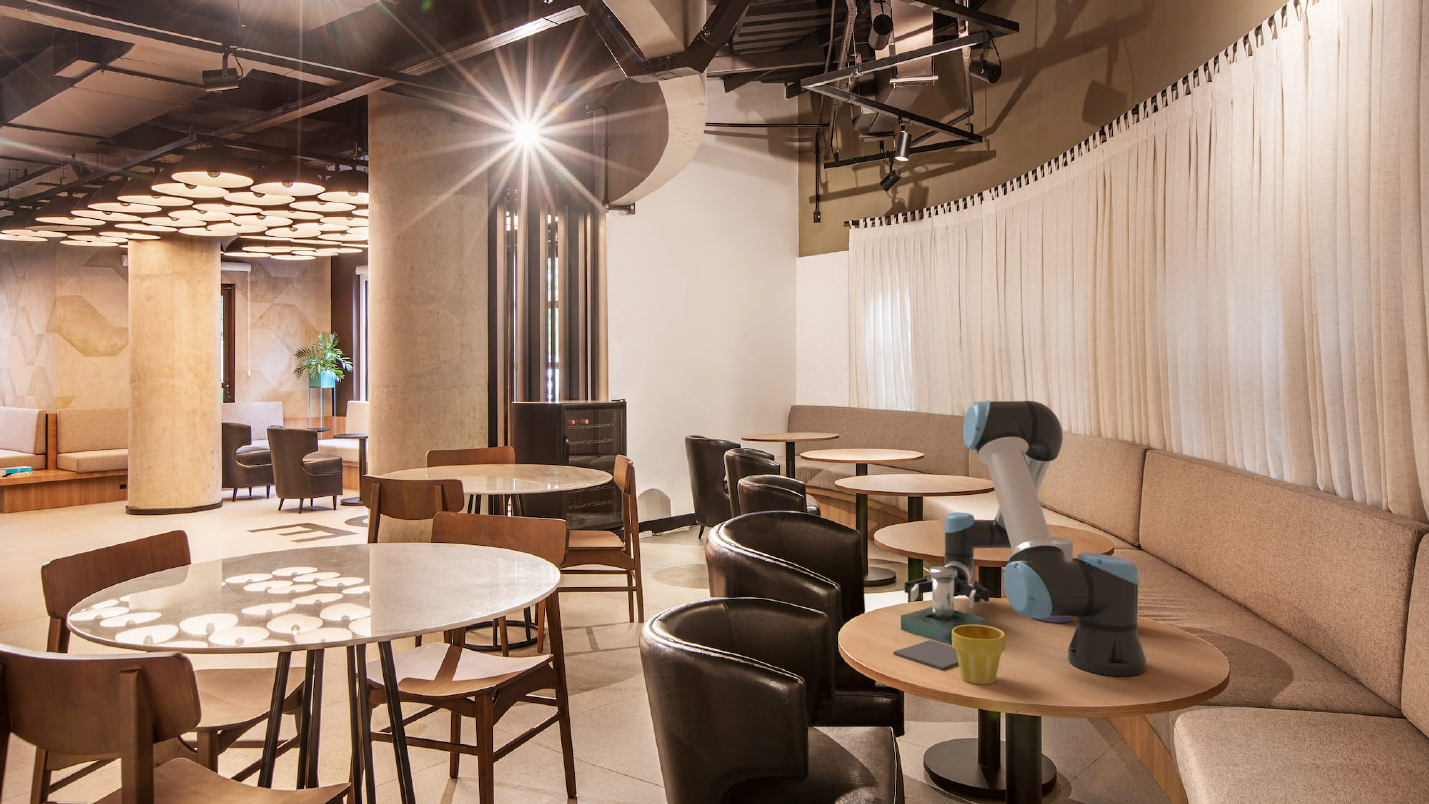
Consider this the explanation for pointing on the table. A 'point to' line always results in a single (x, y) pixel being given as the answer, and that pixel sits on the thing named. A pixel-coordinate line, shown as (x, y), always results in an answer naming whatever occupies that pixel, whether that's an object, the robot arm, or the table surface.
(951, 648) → the mat
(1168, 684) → the table surface
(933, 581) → the plug
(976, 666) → the plant pot
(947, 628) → the housing
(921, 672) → the table surface
